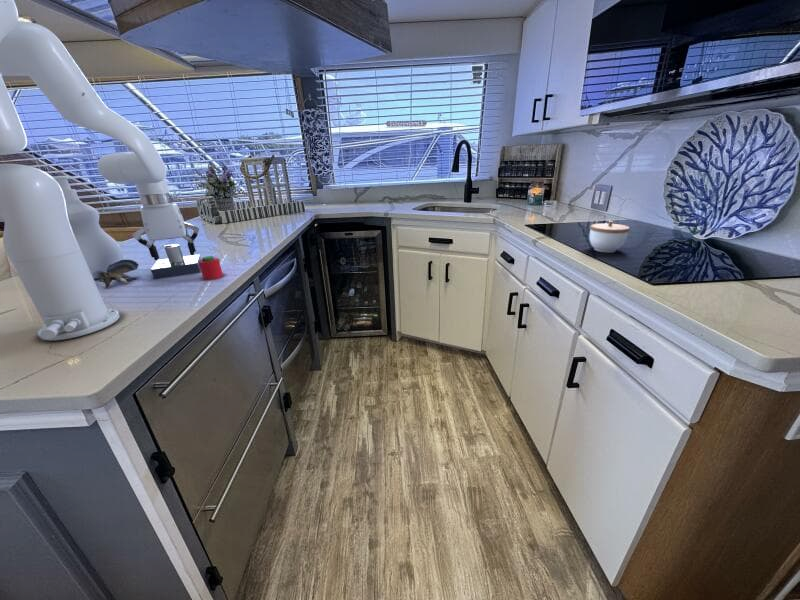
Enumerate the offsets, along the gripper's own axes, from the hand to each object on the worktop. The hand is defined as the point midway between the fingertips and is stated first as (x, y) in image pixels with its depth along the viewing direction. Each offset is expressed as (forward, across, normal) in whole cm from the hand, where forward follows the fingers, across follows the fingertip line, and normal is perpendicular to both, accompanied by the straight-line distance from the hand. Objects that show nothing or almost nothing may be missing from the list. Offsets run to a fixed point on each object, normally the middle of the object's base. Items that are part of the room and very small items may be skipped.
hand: (175, 256), depth 101 cm
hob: (+5, 0, 0) cm, 5 cm away
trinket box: (+5, -127, +56) cm, 139 cm away
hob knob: (+2, 0, 0) cm, 2 cm away
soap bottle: (+5, +22, -9) cm, 24 cm away
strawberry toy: (+5, -10, +14) cm, 18 cm away
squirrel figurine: (+5, +14, +5) cm, 16 cm away
